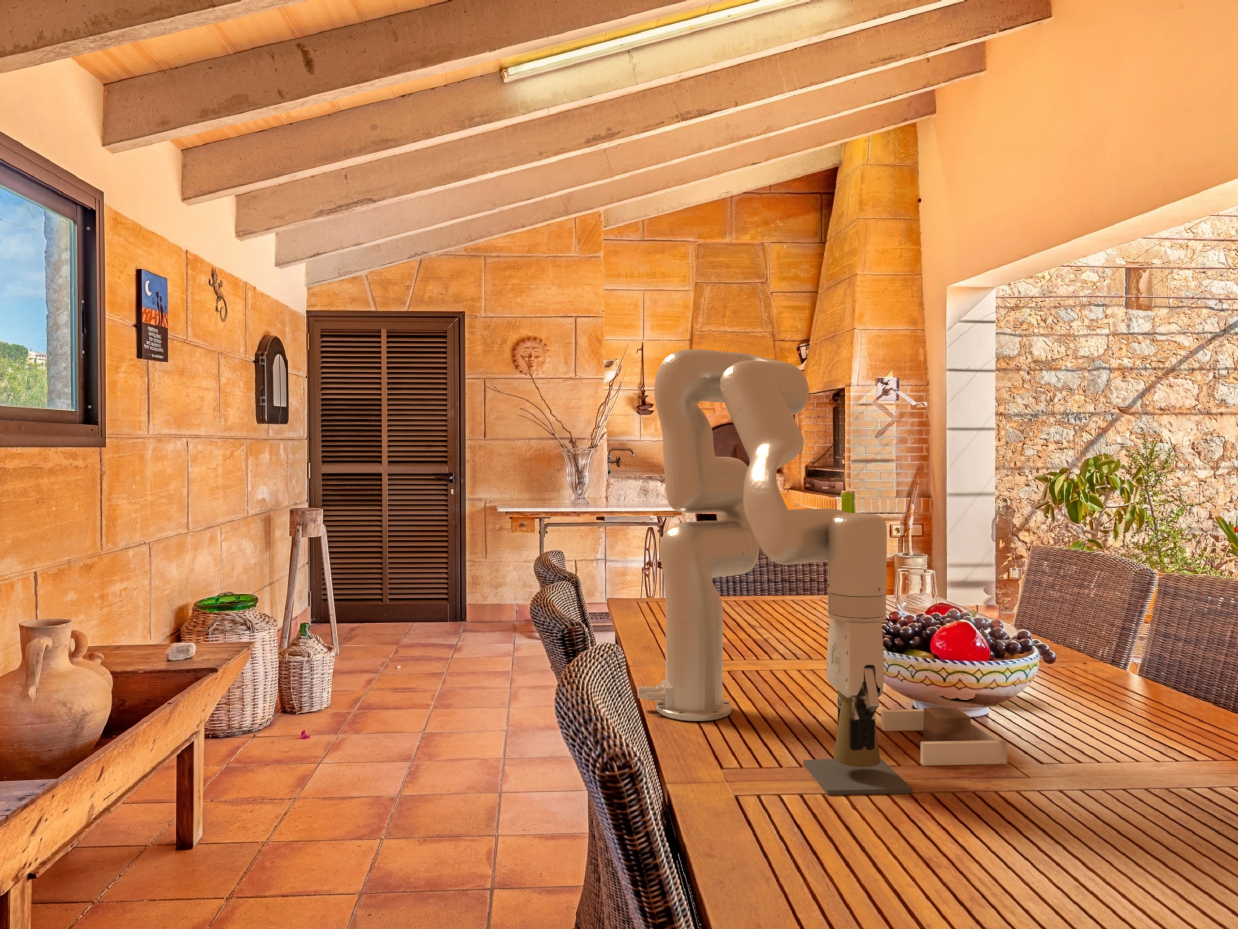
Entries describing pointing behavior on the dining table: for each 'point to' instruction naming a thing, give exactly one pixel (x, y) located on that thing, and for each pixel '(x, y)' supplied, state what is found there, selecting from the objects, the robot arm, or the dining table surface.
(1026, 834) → the dining table surface
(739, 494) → the robot arm
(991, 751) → the tray
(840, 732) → the cork
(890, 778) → the mat
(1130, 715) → the dining table surface
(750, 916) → the dining table surface
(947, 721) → the walnut block
